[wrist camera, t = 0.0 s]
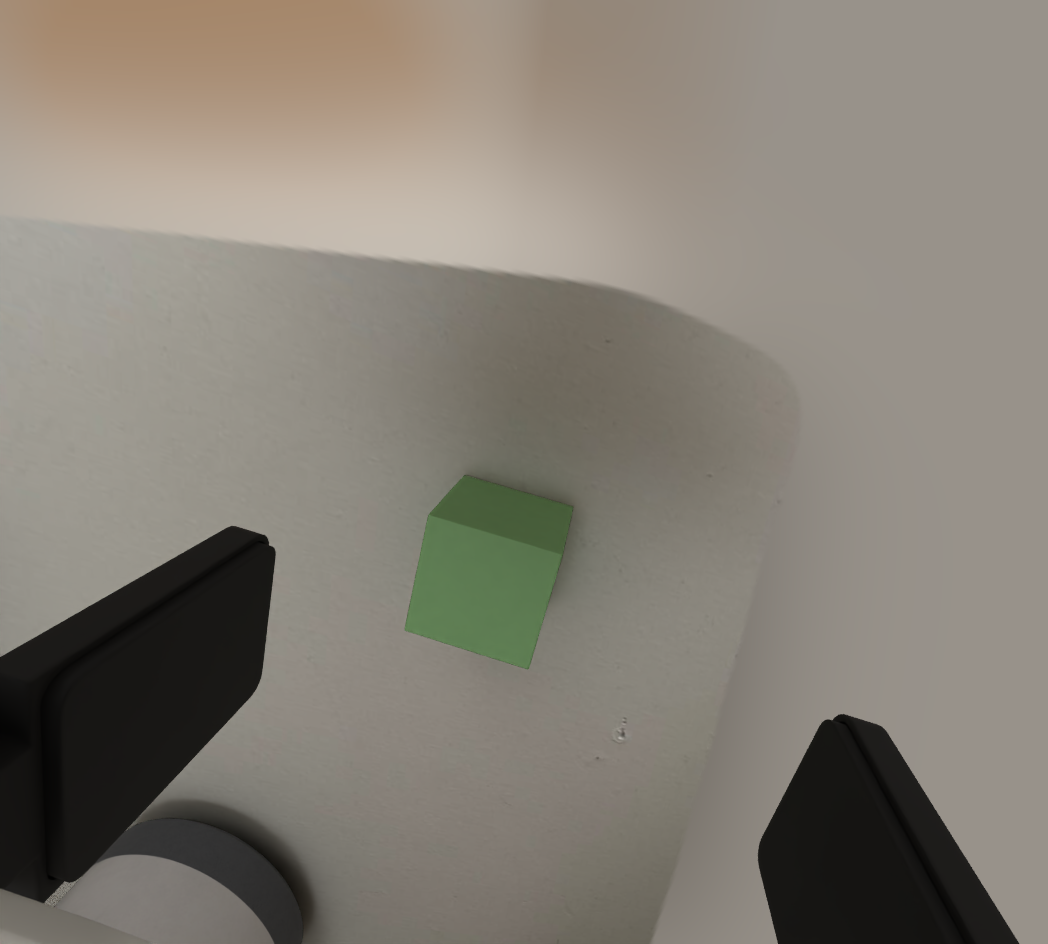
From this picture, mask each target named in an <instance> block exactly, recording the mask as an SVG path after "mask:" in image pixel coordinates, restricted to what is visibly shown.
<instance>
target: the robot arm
mask: <svg viewBox="0 0 1048 944" xmlns="http://www.w3.org/2000/svg"><path fill="white" fill-rule="evenodd" d="M275 555H276V552H275V549H274V548H273V547H272V546H269V541H268V538H267V537H266V536H265V535H262V534H259V533H256V532H253V531H249V530H246V529H243V528H240V527H236V526H230V527H228V528H226V529H224V530H222V531H220V532H219V533H217V534H215V535H213V536H212V537H210V538H208V539H206V540H205V541H203V542H201V543H199V544H198V545H196V546H194V547H192V548H191V549H189V550H187V551H185V552H184V553H182V554H180V555H178V556H177V557H175V558H173V559H171V560H170V561H168V562H166V563H164V564H163V565H161V566H159V567H157V568H156V569H154V570H152V571H150V572H149V573H147V574H145V575H143V576H142V577H140V578H138V579H136V580H135V581H133V582H131V583H129V584H128V585H126V586H124V587H122V588H121V589H119V590H117V591H115V592H114V593H112V594H110V595H108V596H107V597H105V598H103V599H101V600H100V601H98V602H96V603H94V604H93V605H91V606H89V607H87V608H86V609H84V610H82V611H80V612H79V613H77V614H75V615H73V616H72V617H70V618H68V619H66V620H65V621H63V622H61V623H59V624H58V625H56V626H54V627H52V628H51V629H49V630H47V631H45V632H44V633H42V634H40V635H38V636H37V637H35V638H33V639H31V640H30V641H28V642H26V643H24V644H23V645H21V646H19V647H17V648H16V649H14V650H12V651H10V652H9V653H7V654H5V655H3V656H2V657H0V944H155V943H152V942H150V941H147V940H144V939H142V938H139V937H136V936H134V935H131V934H128V933H125V932H123V931H120V930H117V929H115V928H112V927H109V926H106V925H104V924H101V923H98V922H96V921H93V920H90V919H87V918H84V917H82V916H79V915H76V914H73V913H70V912H67V911H64V910H61V909H58V908H55V907H53V906H50V905H47V904H44V902H45V901H46V900H47V899H48V898H49V897H50V896H51V895H52V894H53V893H54V892H55V891H56V890H57V889H58V888H59V886H60V885H61V884H62V883H63V882H64V881H66V882H69V883H70V882H74V881H76V880H77V879H79V878H80V877H82V876H83V875H84V874H85V873H86V872H87V871H88V870H89V869H90V868H91V867H92V866H93V865H94V864H95V862H96V861H97V860H98V859H99V858H100V857H101V856H102V855H103V854H104V853H105V852H106V851H107V850H108V849H109V848H110V846H111V845H112V844H113V843H114V842H115V841H116V840H117V839H118V838H119V837H120V836H121V835H122V834H123V833H124V831H125V830H126V829H127V828H128V827H129V826H130V825H131V824H132V823H133V822H134V821H135V820H136V819H137V818H138V817H139V815H140V814H141V813H142V812H143V811H144V810H145V809H146V808H147V807H148V806H149V805H150V804H151V803H152V802H153V801H154V799H155V798H156V797H157V796H158V795H159V794H160V793H161V792H162V791H163V790H164V789H165V788H166V787H167V786H168V785H169V783H170V782H171V781H172V780H173V779H174V778H175V777H176V776H177V775H178V774H179V773H180V772H181V771H182V770H183V769H184V767H185V766H186V765H187V764H188V763H189V762H190V761H191V760H192V759H193V758H194V757H195V756H196V755H197V754H198V753H199V751H200V750H201V749H202V748H203V747H204V746H205V745H206V744H207V743H208V742H209V741H210V740H211V739H212V738H213V737H214V735H215V734H216V733H217V732H218V731H219V730H220V729H221V728H222V727H223V726H224V725H225V724H226V723H227V722H228V721H229V719H230V718H231V717H232V716H233V715H234V714H235V713H236V712H237V711H238V710H239V709H240V708H241V707H242V706H243V705H244V703H245V702H246V701H247V700H248V699H249V698H250V697H251V696H252V695H253V693H254V692H255V690H256V688H257V686H258V684H259V682H260V679H261V676H262V669H263V660H264V652H265V643H266V634H267V626H268V617H269V608H270V600H271V591H272V582H273V574H274V565H275ZM758 863H759V869H760V873H761V877H762V881H763V885H764V889H765V893H766V897H767V901H768V905H769V909H770V913H771V917H772V921H773V925H774V929H775V933H776V937H777V941H778V944H1019V943H1018V941H1017V939H1016V938H1015V936H1014V935H1013V933H1012V931H1011V930H1010V928H1009V927H1008V925H1007V923H1006V922H1005V920H1004V919H1003V917H1002V915H1001V914H1000V912H999V911H998V909H997V907H996V906H995V904H994V903H993V901H992V899H991V898H990V896H989V895H988V893H987V891H986V890H985V888H984V887H983V885H982V884H981V882H980V880H979V879H978V877H977V875H976V874H975V872H974V871H973V869H972V867H971V866H970V864H969V863H968V861H967V859H966V858H965V856H964V855H963V853H962V852H961V850H960V849H959V847H958V845H957V843H956V842H955V840H954V839H953V837H952V835H951V834H950V832H949V831H948V829H947V827H946V826H945V824H944V823H943V821H942V819H941V818H940V816H939V815H938V813H937V811H936V810H935V809H934V807H933V805H932V803H931V802H930V800H929V799H928V797H927V795H926V794H925V792H924V791H923V789H922V788H921V786H920V784H919V783H918V781H917V779H916V778H915V776H914V775H913V773H912V771H911V770H910V768H909V767H908V765H907V763H906V762H905V760H904V759H903V757H902V755H901V754H900V752H899V751H898V749H897V747H896V746H895V744H894V743H893V741H892V740H891V738H890V736H889V735H888V733H887V732H886V730H885V729H884V728H883V727H881V726H879V725H877V724H873V723H871V722H867V721H864V720H861V719H858V718H854V717H851V716H848V715H845V714H840V715H838V716H836V717H835V718H834V719H833V720H825V721H823V722H822V723H821V725H820V726H819V728H818V730H817V732H816V734H815V736H814V738H813V740H812V742H811V744H810V746H809V748H808V749H807V751H806V753H805V755H804V757H803V759H802V761H801V763H800V765H799V767H798V769H797V771H796V773H795V775H794V776H793V778H792V780H791V782H790V784H789V786H788V788H787V790H786V792H785V794H784V796H783V798H782V800H781V802H780V803H779V806H778V807H777V809H776V811H775V813H774V815H773V817H772V819H771V821H770V823H769V825H768V827H767V829H766V830H765V832H764V834H763V836H762V838H761V841H760V844H759V850H758Z"/></svg>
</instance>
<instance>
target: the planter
mask: <svg viewBox="0 0 1048 944" xmlns="http://www.w3.org/2000/svg"><path fill="white" fill-rule="evenodd" d="M54 907H55V908H58V909H61V910H64V911H67V912H70V913H73V914H76V915H79V916H82V917H84V918H87V919H90V920H93V921H96V922H98V923H101V924H104V925H106V926H109V927H112V928H115V929H117V930H120V931H123V932H125V933H128V934H131V935H134V936H136V937H139V938H142V939H144V940H147V941H150V942H152V943H155V944H302V938H303V923H302V917H301V913H300V909H299V906H298V903H297V901H296V899H295V896H294V894H293V892H292V891H291V889H290V887H289V886H288V884H287V883H286V881H285V880H284V878H283V877H282V876H281V874H280V873H279V872H278V871H277V869H276V868H275V867H274V866H273V865H272V864H271V863H270V862H269V861H268V860H267V859H266V858H265V857H264V856H262V855H261V854H260V853H259V852H258V851H256V850H255V849H254V848H253V847H251V846H250V845H248V844H247V843H245V842H244V841H242V840H241V839H239V838H237V837H235V836H234V835H232V834H230V833H228V832H226V831H223V830H221V829H219V828H216V827H213V826H210V825H207V824H204V823H200V822H196V821H191V820H185V819H174V818H166V819H155V820H150V821H146V822H143V823H140V824H137V825H135V826H133V827H131V828H130V829H128V830H127V831H125V832H124V833H123V834H122V835H121V836H120V837H119V838H118V839H117V840H116V841H115V842H114V843H113V844H112V845H111V846H110V848H109V849H108V850H107V851H106V852H105V853H104V854H103V855H102V856H101V857H100V858H99V859H98V860H97V861H96V862H95V864H94V865H93V866H92V867H91V868H90V869H89V870H88V871H87V872H86V873H85V874H84V875H83V876H82V877H81V878H80V879H79V880H78V881H77V882H76V883H75V884H74V886H73V887H72V888H71V889H70V890H69V891H68V892H67V893H66V894H65V895H64V896H63V897H62V898H61V899H60V900H59V901H58V903H57V904H56V905H55V906H54Z"/></svg>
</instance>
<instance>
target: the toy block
mask: <svg viewBox="0 0 1048 944" xmlns="http://www.w3.org/2000/svg"><path fill="white" fill-rule="evenodd" d="M572 511H573V506H569V505H566V504H562V503H559V502H556V501H552V500H549V499H545V498H542V497H538V496H535V495H532V494H528V493H525V492H521V491H518V490H514V489H511V488H508V487H504V486H501V485H497V484H494V483H490V482H487V481H483V480H480V479H477V478H473V477H470V476H466V475H464V476H463V477H462V478H461V479H460V481H459V482H458V483H457V484H456V485H455V486H454V487H453V488H452V489H451V490H450V492H449V493H448V494H447V495H446V496H445V497H444V498H443V499H442V500H441V502H440V503H439V504H438V505H437V506H436V507H435V508H434V509H433V510H432V511H431V513H430V514H429V515H428V519H427V523H426V528H425V533H424V538H423V543H422V548H421V552H420V557H419V562H418V567H417V572H416V576H415V581H414V586H413V591H412V596H411V601H410V605H409V610H408V615H407V620H406V625H405V631H408V632H411V633H414V634H417V635H421V636H424V637H427V638H430V639H433V640H436V641H440V642H443V643H446V644H449V645H452V646H455V647H458V648H462V649H465V650H468V651H471V652H474V653H477V654H481V655H484V656H487V657H490V658H493V659H496V660H499V661H503V662H506V663H509V664H512V665H515V666H518V667H522V668H525V669H529V666H530V663H531V660H532V656H533V653H534V650H535V646H536V643H537V640H538V636H539V633H540V630H541V626H542V623H543V620H544V616H545V613H546V609H547V606H548V603H549V599H550V596H551V593H552V589H553V586H554V583H555V579H556V576H557V573H558V569H559V566H560V563H561V559H562V556H563V552H564V547H565V543H566V538H567V534H568V529H569V525H570V520H571V516H572Z"/></svg>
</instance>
